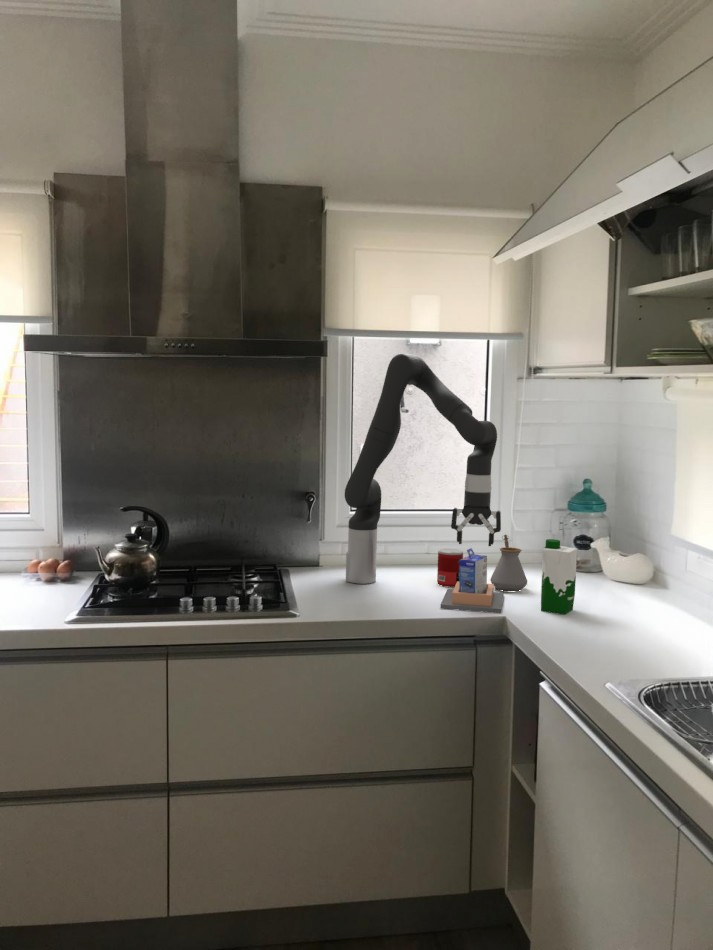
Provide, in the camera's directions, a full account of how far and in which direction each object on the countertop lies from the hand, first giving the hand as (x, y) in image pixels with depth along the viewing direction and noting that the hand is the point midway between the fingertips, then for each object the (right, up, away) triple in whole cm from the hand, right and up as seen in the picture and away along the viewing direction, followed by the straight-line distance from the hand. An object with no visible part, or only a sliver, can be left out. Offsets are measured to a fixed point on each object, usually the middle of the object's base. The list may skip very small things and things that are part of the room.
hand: (475, 544), depth 243 cm
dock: (0, -17, +2) cm, 17 cm away
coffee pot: (+14, -15, +24) cm, 32 cm away
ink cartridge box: (-1, -16, +2) cm, 16 cm away
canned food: (-5, -15, +24) cm, 29 cm away
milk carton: (+23, -19, -5) cm, 30 cm away
